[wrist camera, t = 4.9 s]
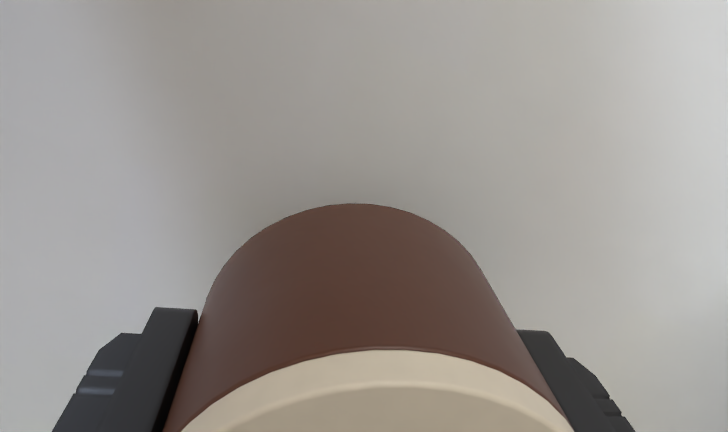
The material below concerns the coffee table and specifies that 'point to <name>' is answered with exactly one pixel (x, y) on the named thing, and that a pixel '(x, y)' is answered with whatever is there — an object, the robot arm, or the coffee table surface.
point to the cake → (358, 336)
